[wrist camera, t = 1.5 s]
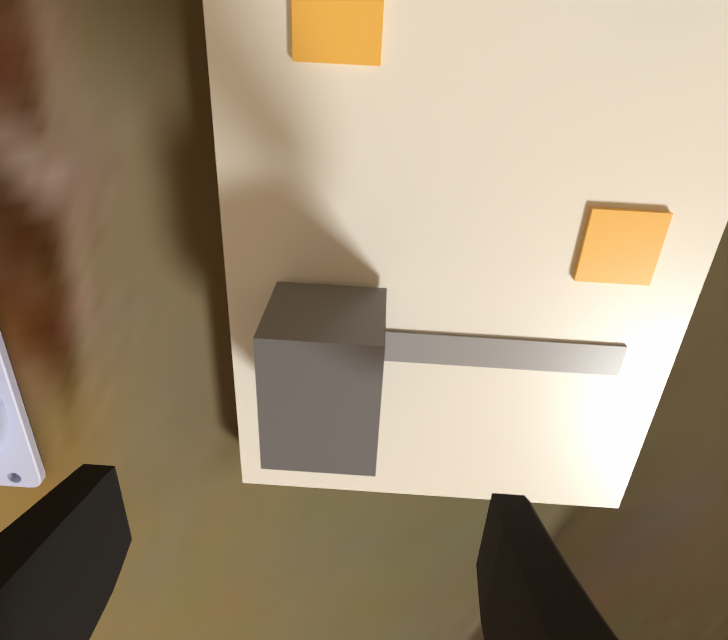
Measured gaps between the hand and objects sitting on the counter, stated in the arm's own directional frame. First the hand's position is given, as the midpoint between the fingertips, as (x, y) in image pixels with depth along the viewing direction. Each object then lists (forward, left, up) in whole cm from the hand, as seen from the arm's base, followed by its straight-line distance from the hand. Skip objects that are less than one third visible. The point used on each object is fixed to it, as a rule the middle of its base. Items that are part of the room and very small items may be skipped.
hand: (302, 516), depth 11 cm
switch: (0, 0, -7) cm, 7 cm away
